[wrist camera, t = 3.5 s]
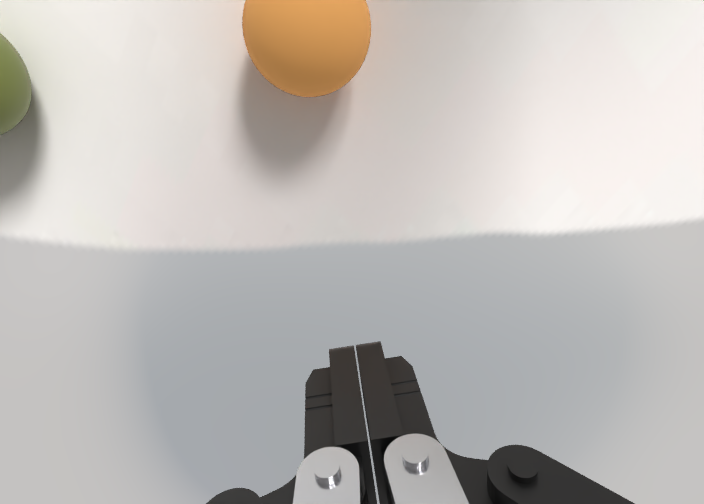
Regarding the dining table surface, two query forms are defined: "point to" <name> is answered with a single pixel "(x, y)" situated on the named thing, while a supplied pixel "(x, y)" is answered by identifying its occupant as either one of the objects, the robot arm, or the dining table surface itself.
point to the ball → (307, 42)
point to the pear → (12, 87)
